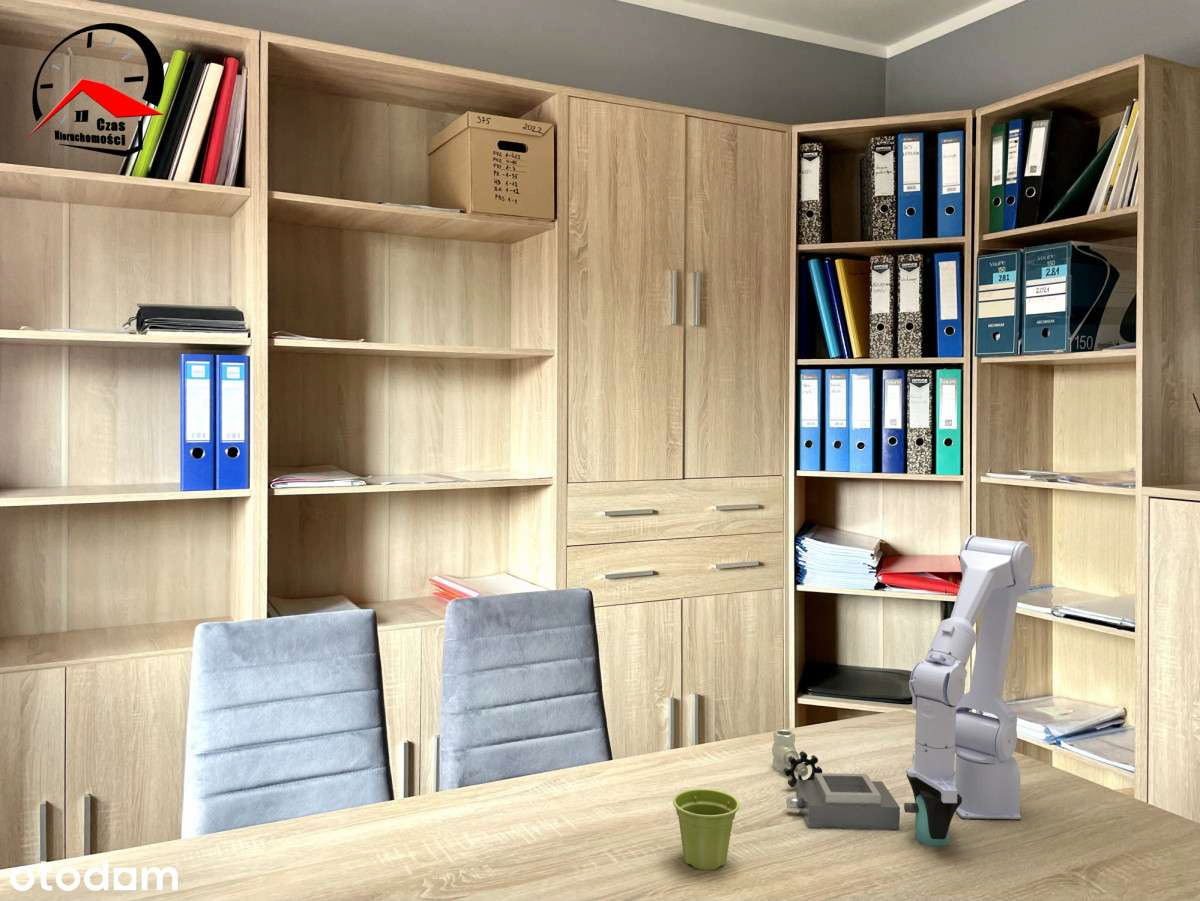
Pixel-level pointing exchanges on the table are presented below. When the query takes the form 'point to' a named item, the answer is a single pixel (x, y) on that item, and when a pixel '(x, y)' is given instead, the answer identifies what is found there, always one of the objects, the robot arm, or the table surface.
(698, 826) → the plant pot
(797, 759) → the valve
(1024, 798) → the table surface
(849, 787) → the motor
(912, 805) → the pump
